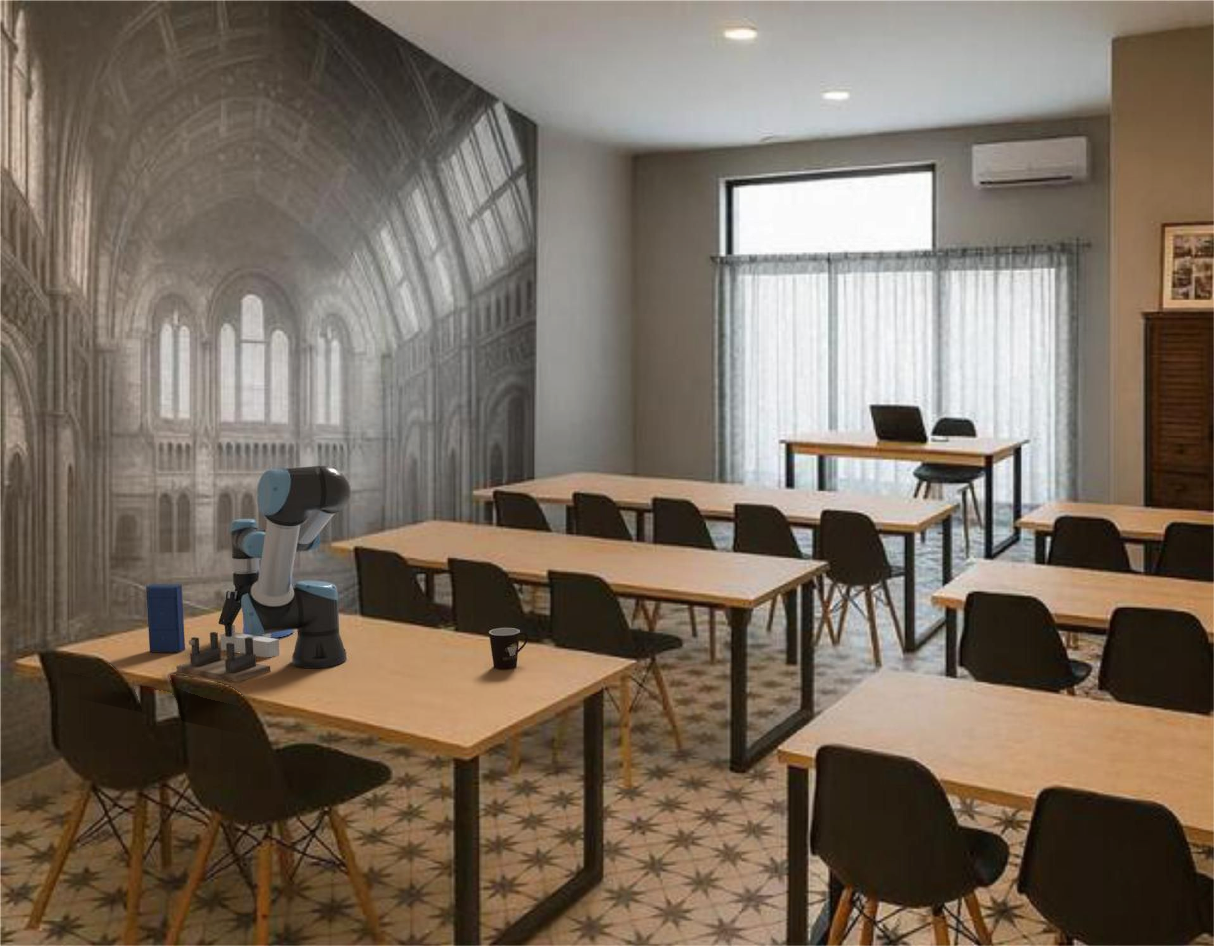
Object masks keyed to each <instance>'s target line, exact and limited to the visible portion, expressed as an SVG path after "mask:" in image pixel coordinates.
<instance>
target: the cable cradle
mask: <svg viewBox="0 0 1214 946" xmlns="http://www.w3.org/2000/svg"><path fill="white" fill-rule="evenodd" d="M209 639H210V640H209V641H210V643H209V644H210V647H208V648H205V649H202V650H201V649H200V638H199V637H195V636H192V637H190V639H189V640H188V646H191V653H189V658H190V661H189V662H186V663H182V664H179V665H176V672H178V673H183V672H185V673H184V674H189V675H195V676H201V677H205V676H208V677H207V678H210V679H211V678H212V679H216V678H217V679H216V680H222V681H227V682H232V681H233V683H239V682H238V681H240V682H242V681H241V680H243V681H245V679H246V680H248V679H247V678H249V679H252V678H254V677H253V676H255V677H258V676H261V675H263V673H264V674H267V673H270V672H271V666H270V665H266V664H260V663H257V661H256V660H257V659H256V656H255V654H253V638H245V653H246V654H239V655H237V656H235V655H236V653H235V651H234V644H233V643H227V644H226V651H225V652H226V658H224V657H222V656H221V647H219V635H218V632H215V631H211V632H210V633H209ZM269 671H270V672H269ZM257 675H258V676H257ZM251 677H252V678H251Z"/></svg>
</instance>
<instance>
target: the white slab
mask: <svg viewBox="0 0 1214 946" xmlns="http://www.w3.org/2000/svg"><path fill="white" fill-rule="evenodd" d="M219 637H220V651H223V650H226V644H227V637H226V636H225V633H222V634H220V636H219ZM245 638H253V654H255V655H256V656H255V657H259V656H262V657H261V658H265V657H271V658H274V657H273V656H275V657H277V655H278V656H280V638H275V639H274V638H267V637H261V636H254V635H248V634H243V633H242V632H235V639H236V647H235V648H234V651H235V652H240V653H239V654H241V653H244V654H246V653H245Z"/></svg>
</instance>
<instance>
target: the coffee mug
mask: <svg viewBox="0 0 1214 946" xmlns="http://www.w3.org/2000/svg"><path fill="white" fill-rule="evenodd" d="M521 635H524V636H525V641H524V642H523V644H521V646H520V647H519V644H520V636H521ZM488 636H489V641H490V648H491V649H490V651H491V657H492V662H493V668H494V669H496V670H500V671H501V670H502V671H504V670H505V671H507V670H513V669H516V668H517V666H518V665H517V664H518V656H519V655H518V654H519V652H521V651H522V649H524V647H525V646H526V644H527V642H528V641H529V635H528V633H526V632H523V631H521V630H520V629H518V628H514V627H499V628H494V629H491V630H489V631H488Z"/></svg>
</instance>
